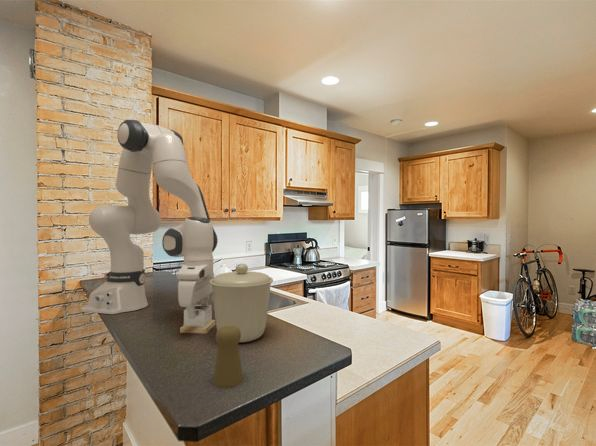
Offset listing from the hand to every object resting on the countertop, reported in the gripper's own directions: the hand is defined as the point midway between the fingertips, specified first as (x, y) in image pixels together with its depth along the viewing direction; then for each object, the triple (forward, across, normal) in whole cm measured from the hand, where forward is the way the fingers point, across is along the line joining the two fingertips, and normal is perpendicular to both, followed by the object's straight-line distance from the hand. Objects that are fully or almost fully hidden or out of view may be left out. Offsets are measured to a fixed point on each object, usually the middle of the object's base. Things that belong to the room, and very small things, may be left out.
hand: (198, 313), depth 96 cm
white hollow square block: (+3, 0, 0) cm, 3 cm away
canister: (+5, +5, +15) cm, 17 cm away
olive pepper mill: (+5, +30, +18) cm, 35 cm away
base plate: (+5, 0, 0) cm, 5 cm away
